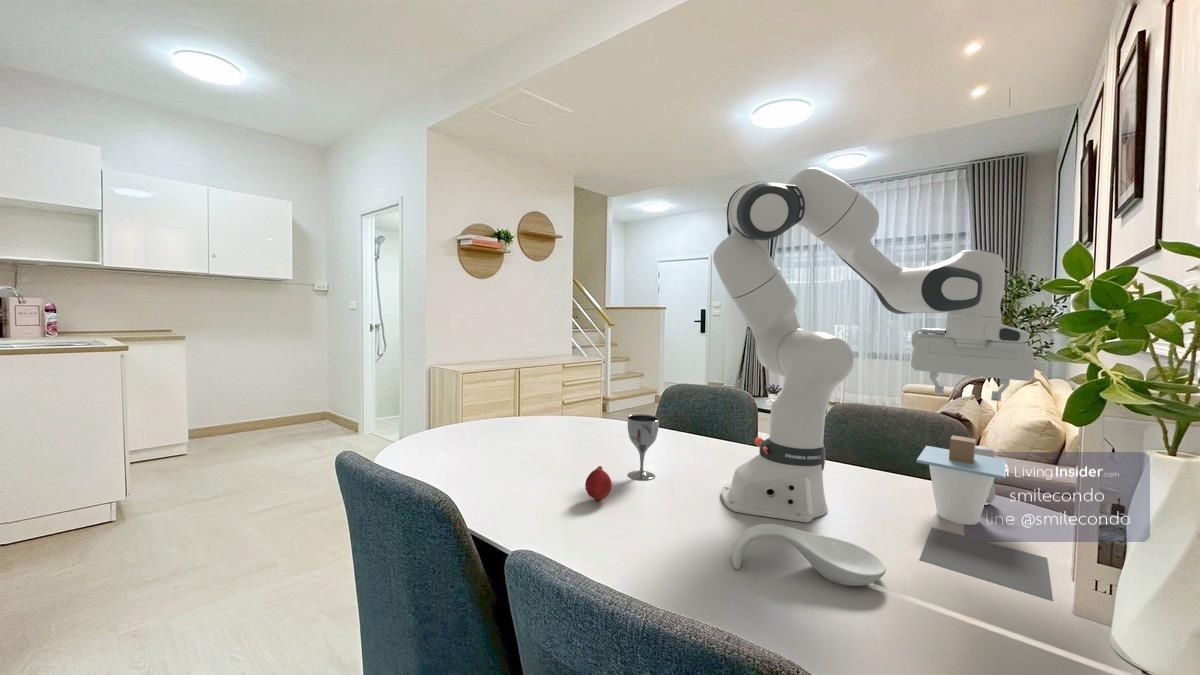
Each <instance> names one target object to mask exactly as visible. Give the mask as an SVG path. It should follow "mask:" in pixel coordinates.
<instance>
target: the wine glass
mask: <svg viewBox="0 0 1200 675" xmlns="http://www.w3.org/2000/svg"><path fill="white" fill-rule="evenodd" d="M659 425H660V418H659V417H658V416H656V415H651V414H644V413H641V414H640V413H639V414H630V415H628V416H627V433H628V438H629V440H630V442H631V443H632V445H634V447H635V448H636V449H637V452H638V454H639V462H640V463H639V467H640V468H639V469H638V470H632V471H630V472H627V477H628V478H630V479H632V480H636V481H640V482H641V481H644V482H645V481H646V482H647V481H651V480H654V479H655V478H656V474H654V473H653V472H651V471H647V470H644V462H645V461H644V460H645V456H646V453H647V451H648V449H649V448H651V446H652V445H653V444H654V443H655V441H656V440H657V438H658V434H659V427H660V426H659Z"/></svg>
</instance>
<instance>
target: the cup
mask: <svg viewBox="0 0 1200 675" xmlns="http://www.w3.org/2000/svg"><path fill="white" fill-rule="evenodd" d="M928 466H929V473H930V478H931V483H932V484H931V485H932V490H933V491H932V492H933V498H934V503H935V509H936V514H937V515H938V516H939V517H941V518H942V519H945V520H947V521H949V522H952V523H956V524H959V525H968V526H970V525H972V526H973V525H977V524H978V523H979V521H980V519H981V516H982V513H983V511H984V507H985V506H984V505H985V503H986V500H987V497H988V494H989V492H990V489H991V486H992V484H993V481H995V478H994V477H989V476H984V475H979V474H974V473H969V472H963V471H958V470H953V469H948V468H943V467H938V466H933V465H928Z"/></svg>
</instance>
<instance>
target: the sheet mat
mask: <svg viewBox="0 0 1200 675" xmlns="http://www.w3.org/2000/svg"><path fill="white" fill-rule="evenodd" d="M918 560H919V561H921V562H924V563H927V564H931V565H934V566H937V567H941V568H944V569H947V570H950V571H953V572H957V573H960V574H964V575H966V576H970V577H973V578H976V579H980V580H982V581H986V582H990V583H992V584H996V585H999V586H1002V587H1005V588H1008V589H1013V590H1016V591H1018V592H1023V593H1025V594H1029V595H1032V596H1035V597H1039V598H1042V599H1044V600H1049V601H1052V602H1053V601H1054V598H1053V590H1052V583H1051V578H1050V568H1049V563H1048V557H1045V556H1042V555H1038V554H1034V553H1031V552H1026V551H1023V550H1020V549H1015V548H1012V547H1007V546H1005V545H1000V544H996V543H993V542H988V541H985V540H982V539H977V538H975V537H970V536H967V535H962V534H958V533H955V532H951V531H947V530H943V529H940V528H936V527H931V528H930V530H929V533H928V535H927V539H926V541H925V543H924V546H923V549H922V550H921V555H920V557H919V558H918Z"/></svg>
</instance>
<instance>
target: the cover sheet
mask: <svg viewBox="0 0 1200 675" xmlns="http://www.w3.org/2000/svg"><path fill="white" fill-rule="evenodd" d="M976 441H977V438H971V437H965V436H960V435H959V436H958V435H953V434H952V435H951V437H950V441H949V448H948V449H947V448H943V447H937V446H930V445H925V447H924V448H923V450H922V451H921V452H920V455H919V456H918V457H917V459H916V463H920V464H924V465H927V466H929V465H933V466H938V467H943V468H948V469H953V470H958V471H963V472H969V473H974V474H979V475H984V476H989V477H994V479H1000V480H1005V475H1006V472H1005V471H1006V461H1007V459H1004V458H998V457H995V456H994V457H988V456H982V455H977V454H975V446H976V443H977V442H976Z"/></svg>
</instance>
